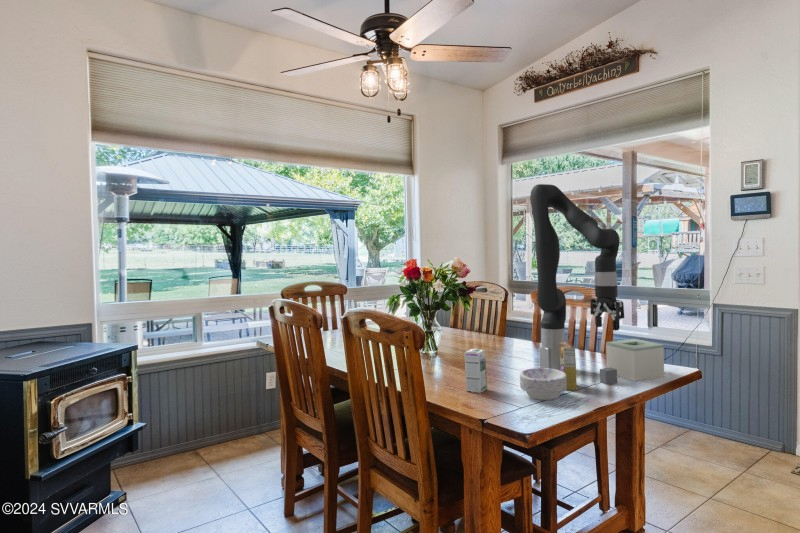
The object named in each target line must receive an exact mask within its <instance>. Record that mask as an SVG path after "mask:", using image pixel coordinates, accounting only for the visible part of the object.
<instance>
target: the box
mask: <svg viewBox="0 0 800 533" xmlns="http://www.w3.org/2000/svg"><path fill="white" fill-rule="evenodd" d="M664 345H665V344H663V343H662V344H661V343H656V342H653V341H652V342H651V341H648V340H642V339H638V338H628V339H620V340H613V341H606V342H605V351H606V352H605V354H606V355H605V356H606V368H610V367H611V368H614V369H617V377H620V378H622V379H625V380H626V379H627V380H629V381H632V382H638V381H646V380H652V379H657V378H663V377H665V357H664V356H665V349H664Z"/></svg>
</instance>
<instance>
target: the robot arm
mask: <svg viewBox="0 0 800 533" xmlns="http://www.w3.org/2000/svg"><path fill="white" fill-rule="evenodd" d="M529 195H530V196H529V197H530V198H529V200H530V205H531V207H530V208H531V212H532V217H533V226H534V228H533V229H534V238H535V242H534V244H535V256H536V270H537V299H536V300H537V304H538V307H539V308H540V310H542V311H543V315H542V318H541V320H540V338H541V339H540V340H541V341H540V342H541V343H540V344H541V345H539V346H538V348H539V368H550V369H556V370H560V371H561V368H560V349H559V343H565V342H566V331H565V324H566V318H567V299H566V298H567V297H566V295H565V293H564V292H563V290H561V289H560V288H558V287H557V286H558V285H557V272H558V268H559V264H560V256H561V250H560V249H561V248H560V238H559V236H558V233H557V231H556V229H555V228H554V226H553V224H552V222H551V219H550V214H549V212H550V211H549V208H553V210H556V211H558V212H560V213H561V215H563V216H564V219H565V220H566V221H567V223H568V224H569V225H570V226H571V227H572V228H573V229H575V230H576V231H577V232H579V234H581V235H582V236H583V237H584V238H585V240H586V241H587V242H588V243H589V245H591V246H592V247H594V248H595V249H600V254H599V255H597V256H596V257H595V260H594V268H595V269H594V272H595V273H594V295H595V296H594V297H595V298H591V299H590V315H593V317H594V321H595V322H594V324H595V327H596V328H600V327H601V328H602V326H603V323H602V322H603V318H602V315H603V313H608V314H609V316H610V317H611V318H612V322H611V323H612V324H611V325H612V331H619V330H620V325H621V324H620V320H623V319H625V307H624V306H625V305H624V301H621V300H620V301H617V299H616V298H617V297H618V294H619V292H618V290H619V289H618V275H617V257H618V253H619V248H620V236H619V233H618V232H617V230H615V229H613V228H601V227H599V223H598V221H597V219H595V218H594V217H593V216H591V215H589V214H588V213H587V212H585V211H584V210H583V209H581V208H580V207H579V206H577V205H576V204H575V203H574V202H573V201H572V200H571V199H570V198H568V197H567V196H566V194H565V193H564V192H563V191H562V190H561V189H560V188H559V187H557V185H554V184H548V183H545V184H544V183H542V184H541V183H539V184H535V185H534V186H533V187H532V189H531V190H530V194H529Z"/></svg>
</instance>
